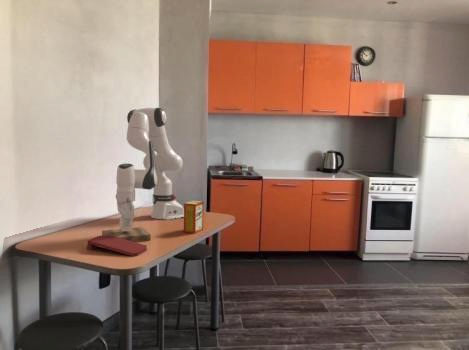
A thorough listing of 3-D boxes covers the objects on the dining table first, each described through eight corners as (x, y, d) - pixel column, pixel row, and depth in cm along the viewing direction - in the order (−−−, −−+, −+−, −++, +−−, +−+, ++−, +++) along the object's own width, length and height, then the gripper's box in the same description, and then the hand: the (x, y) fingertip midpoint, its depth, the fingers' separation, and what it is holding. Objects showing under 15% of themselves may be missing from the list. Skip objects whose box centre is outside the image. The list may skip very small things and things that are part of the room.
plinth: (141, 232, 212) (141, 227, 212) (150, 240, 198) (150, 234, 198) (102, 236, 203) (101, 230, 203) (108, 244, 189) (108, 238, 189)
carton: (147, 256, 184) (100, 242, 191) (149, 246, 184) (101, 232, 190) (134, 264, 173) (83, 249, 179) (135, 253, 172) (85, 239, 178)
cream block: (129, 227, 204) (129, 216, 203) (132, 230, 199) (132, 218, 199) (119, 228, 201) (119, 216, 201) (122, 231, 197) (122, 219, 196)
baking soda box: (194, 233, 213) (195, 203, 212) (183, 232, 216) (184, 202, 214) (202, 229, 222) (203, 200, 220) (192, 228, 225) (192, 199, 223)
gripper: (137, 200, 191) (137, 229, 192) (127, 193, 209) (127, 220, 210) (124, 201, 188) (124, 230, 189) (114, 194, 206) (115, 221, 207)
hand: (126, 224), depth 200 cm, fingers closed on cream block, 5 cm apart
